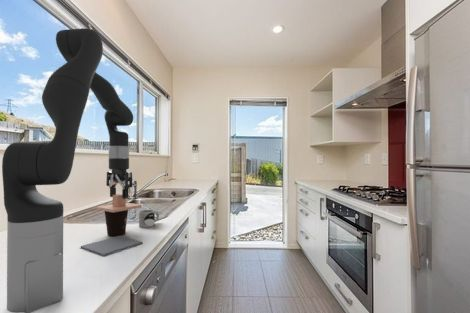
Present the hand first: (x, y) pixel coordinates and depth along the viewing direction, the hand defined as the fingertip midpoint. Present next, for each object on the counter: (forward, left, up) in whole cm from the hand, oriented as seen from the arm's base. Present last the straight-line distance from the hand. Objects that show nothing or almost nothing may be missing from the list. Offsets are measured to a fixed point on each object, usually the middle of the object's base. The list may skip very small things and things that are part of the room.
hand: (119, 197), depth 102 cm
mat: (-12, +10, -14) cm, 21 cm away
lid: (0, 0, -4) cm, 4 cm away
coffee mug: (0, 0, -14) cm, 14 cm away
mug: (0, -15, -15) cm, 21 cm away
